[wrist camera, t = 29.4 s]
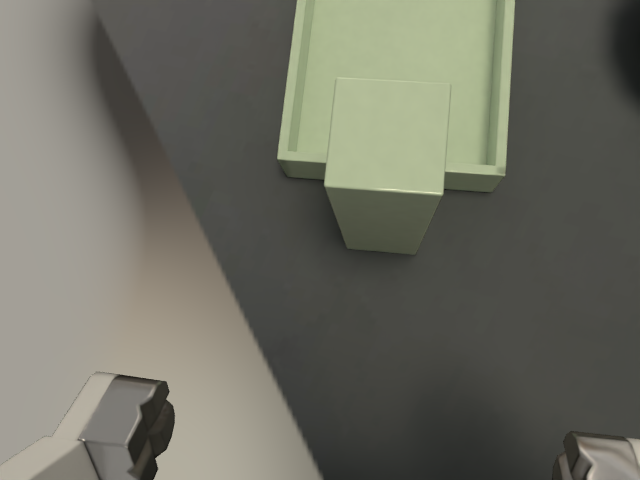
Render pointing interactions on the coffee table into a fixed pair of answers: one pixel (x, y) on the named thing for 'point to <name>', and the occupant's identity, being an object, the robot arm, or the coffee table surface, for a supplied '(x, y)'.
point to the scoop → (397, 109)
